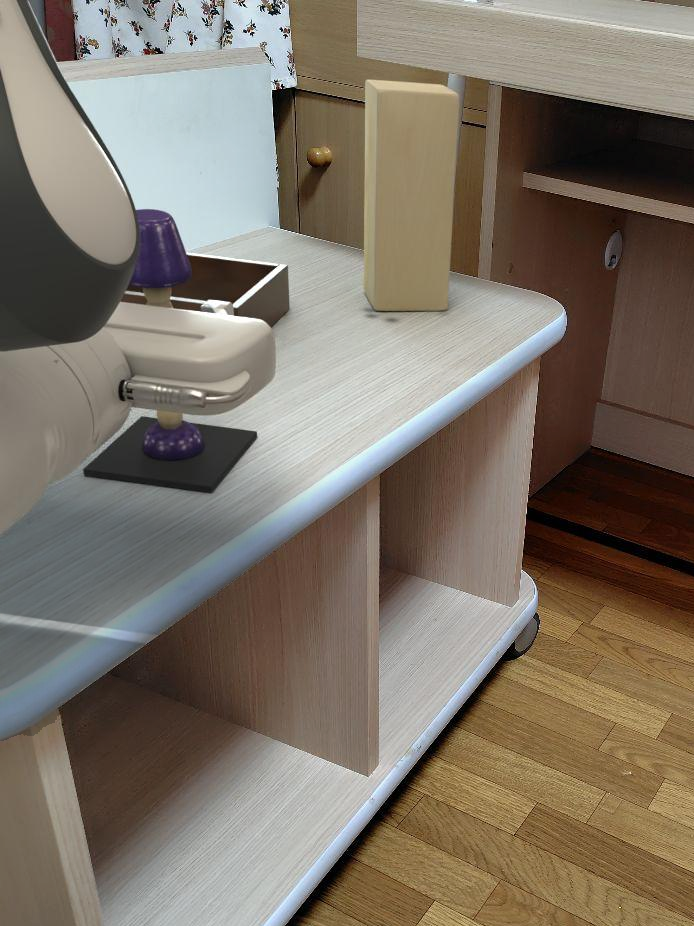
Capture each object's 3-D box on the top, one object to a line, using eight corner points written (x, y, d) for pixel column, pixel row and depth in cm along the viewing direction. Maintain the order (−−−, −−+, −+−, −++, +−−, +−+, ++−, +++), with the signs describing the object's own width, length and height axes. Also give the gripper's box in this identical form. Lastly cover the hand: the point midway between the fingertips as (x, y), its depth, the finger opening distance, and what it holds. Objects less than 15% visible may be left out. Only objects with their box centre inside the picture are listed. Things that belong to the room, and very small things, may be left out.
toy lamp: (221, 452, 71) (201, 217, 63) (162, 471, 68) (132, 227, 59) (184, 429, 74) (160, 200, 65) (125, 446, 71) (92, 208, 62)
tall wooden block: (433, 288, 109) (441, 82, 98) (450, 311, 103) (460, 94, 92) (361, 289, 107) (361, 77, 96) (374, 312, 101) (375, 89, 90)
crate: (92, 337, 88) (85, 288, 86) (158, 292, 100) (153, 247, 98) (241, 357, 88) (237, 308, 85) (289, 309, 99) (288, 264, 97)
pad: (83, 475, 68) (82, 469, 67) (142, 421, 75) (141, 415, 75) (211, 492, 67) (211, 486, 67) (257, 437, 75) (257, 431, 75)
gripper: (225, 351, 51) (307, 275, 62) (-159, 303, 51) (-7, 236, 63) (234, 461, 54) (310, 368, 66) (-127, 413, 55) (12, 330, 66)
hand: (152, 303), depth 64 cm, fingers open, 8 cm apart
